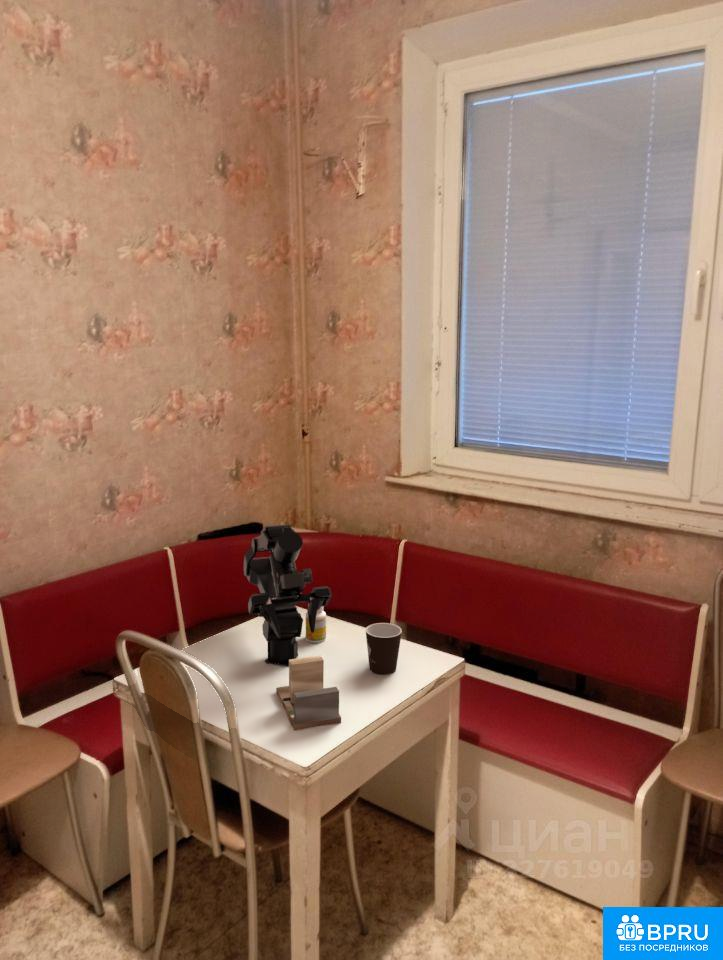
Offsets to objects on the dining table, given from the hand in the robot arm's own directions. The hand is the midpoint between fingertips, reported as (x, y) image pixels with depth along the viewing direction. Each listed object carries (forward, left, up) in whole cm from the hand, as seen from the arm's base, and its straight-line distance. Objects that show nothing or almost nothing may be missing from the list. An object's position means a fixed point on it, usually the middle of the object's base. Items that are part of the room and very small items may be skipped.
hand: (296, 635), depth 162 cm
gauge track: (+5, -8, -12) cm, 16 cm away
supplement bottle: (-4, +26, -13) cm, 29 cm away
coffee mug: (+17, +16, -13) cm, 26 cm away
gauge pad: (+4, -8, -11) cm, 14 cm away
